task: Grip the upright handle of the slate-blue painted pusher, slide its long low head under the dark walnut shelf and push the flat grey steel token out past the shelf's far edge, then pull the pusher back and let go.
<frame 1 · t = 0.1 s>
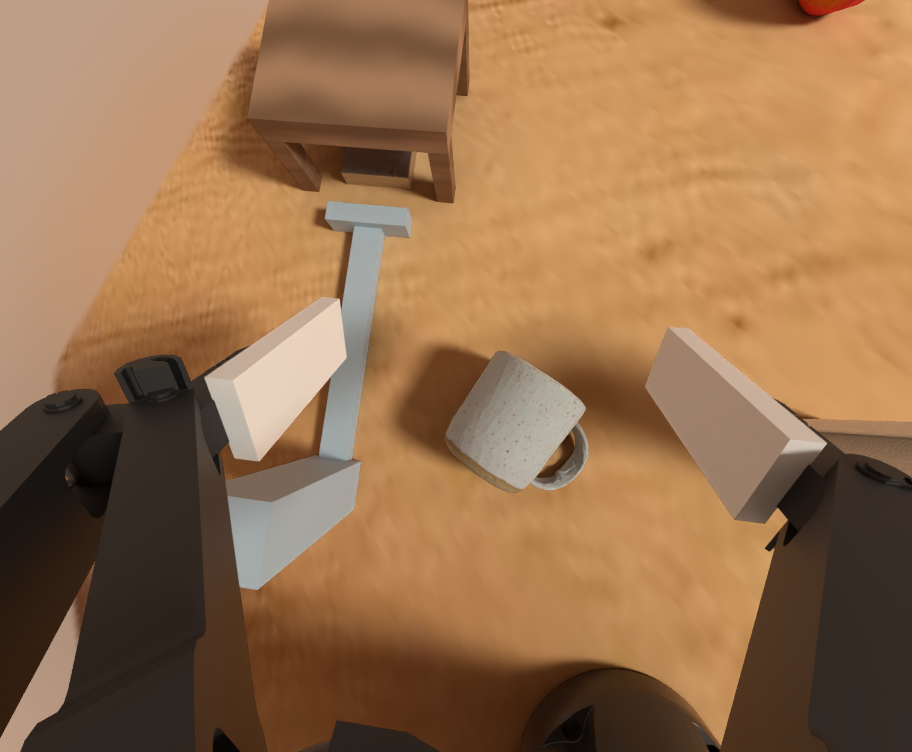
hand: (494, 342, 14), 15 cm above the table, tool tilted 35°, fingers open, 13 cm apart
pusher: (334, 481, 29), on the table
ceramic mug: (521, 426, 29), on the table
apple: (813, 1, 31), on the table
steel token: (384, 159, 32), on the table
paper towel roll: (810, 449, 28), on the table
walnut shelf: (386, 135, 32), on the table
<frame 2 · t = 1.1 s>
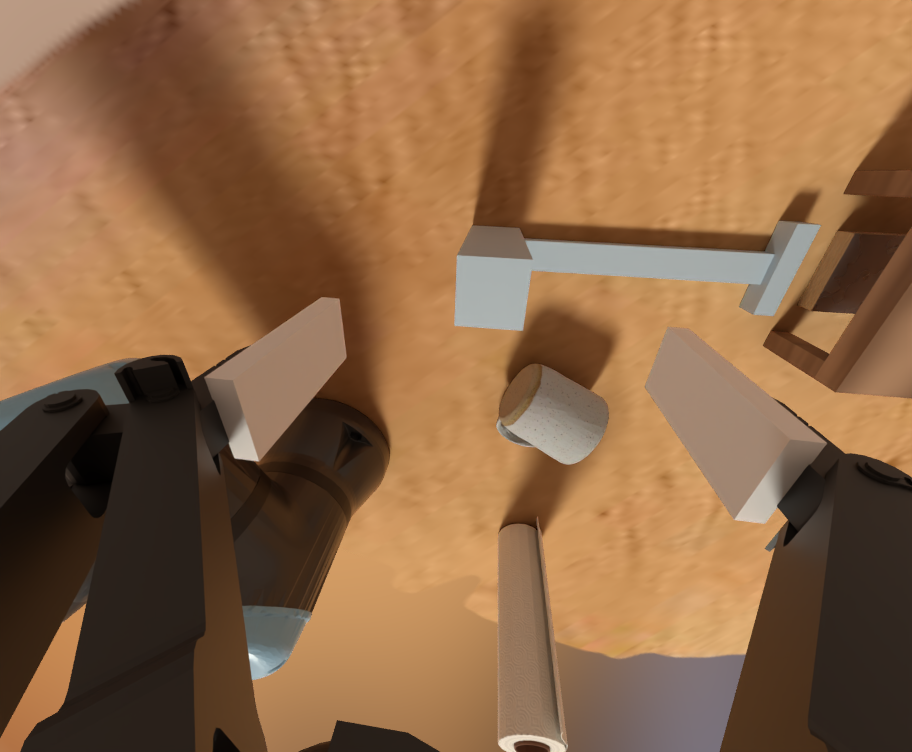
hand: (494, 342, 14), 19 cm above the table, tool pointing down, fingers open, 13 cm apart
pusher: (493, 251, 31), on the table
ceramic mug: (539, 400, 38), on the table
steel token: (850, 270, 29), on the table
paper towel roll: (522, 533, 49), on the table
walnut shelf: (882, 273, 28), on the table
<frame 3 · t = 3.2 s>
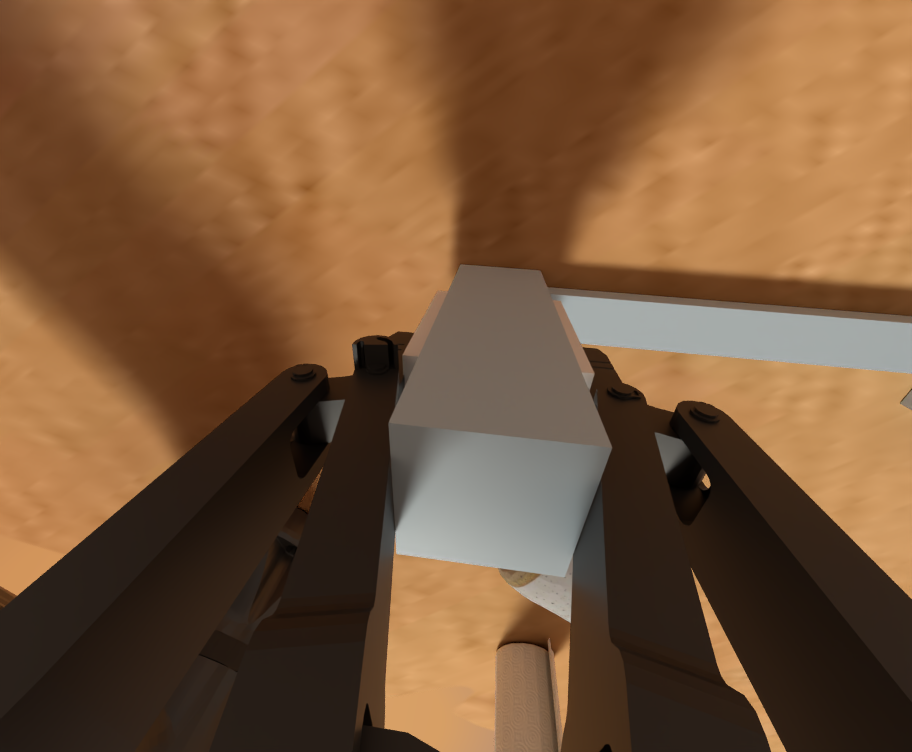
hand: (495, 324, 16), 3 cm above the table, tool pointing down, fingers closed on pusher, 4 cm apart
pusher: (495, 305, 18), on the table, touching gripper
ceramic mug: (554, 512, 26), on the table
paper towel roll: (528, 651, 37), on the table
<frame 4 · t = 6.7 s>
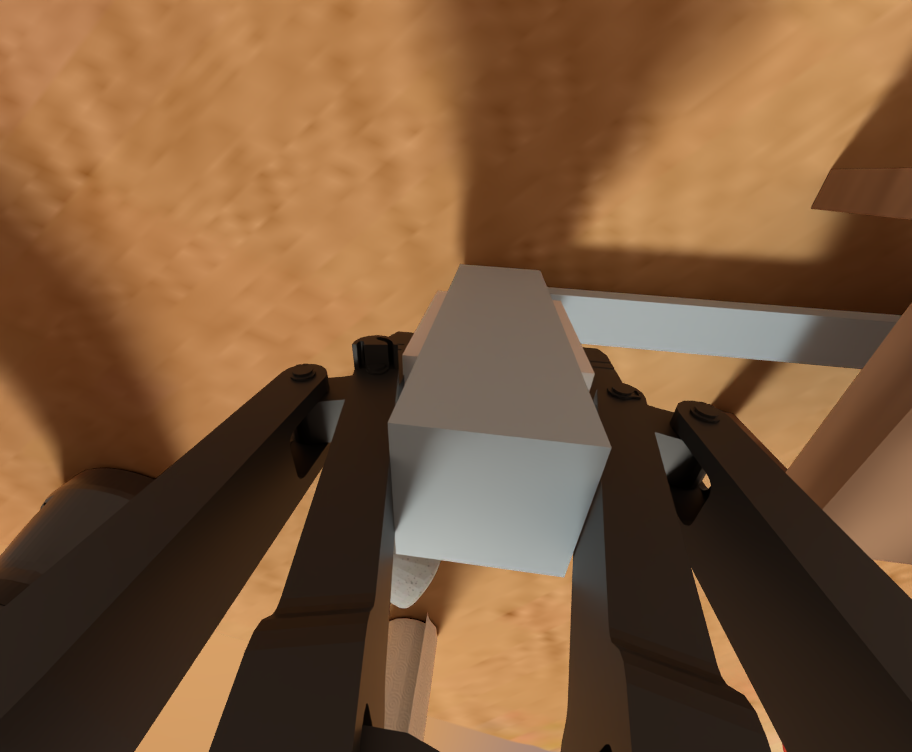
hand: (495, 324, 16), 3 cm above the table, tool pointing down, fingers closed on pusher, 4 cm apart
pusher: (495, 305, 18), point 1 cm above the table, touching gripper, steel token
ceramic mug: (391, 492, 28), on the table
paper towel roll: (416, 627, 39), on the table
walnut shelf: (874, 335, 18), on the table
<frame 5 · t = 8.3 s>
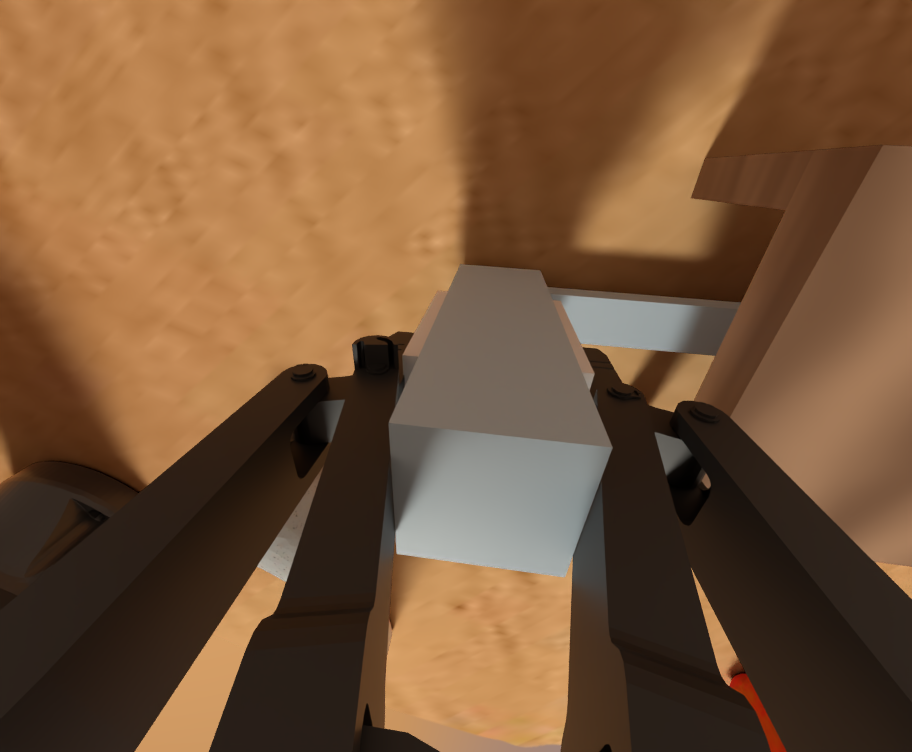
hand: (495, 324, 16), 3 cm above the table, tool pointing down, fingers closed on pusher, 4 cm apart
pusher: (495, 305, 18), point 1 cm above the table, touching gripper, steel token
ceramic mug: (327, 488, 29), on the table
apple: (750, 675, 36), on the table
walnut shelf: (770, 325, 18), on the table
when the fingers open (3 cm above the table, at t = 10.9 s): pusher stays where it is, on the table.
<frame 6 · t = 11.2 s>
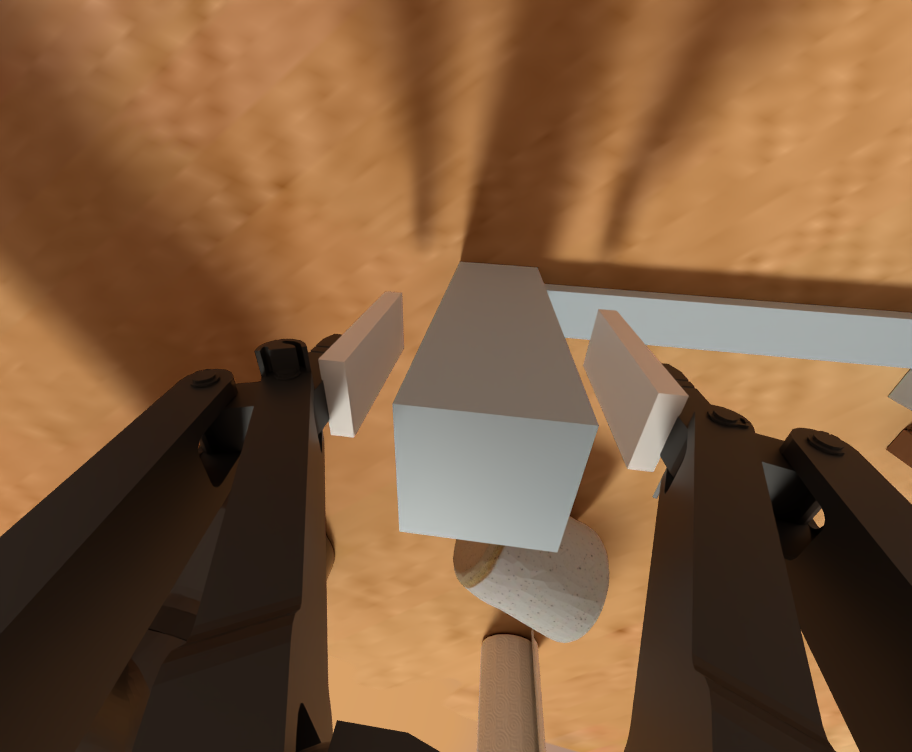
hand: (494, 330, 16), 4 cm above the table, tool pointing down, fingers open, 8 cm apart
pusher: (494, 302, 19), on the table
ceramic mug: (514, 518, 28), on the table
paper towel roll: (513, 642, 38), on the table
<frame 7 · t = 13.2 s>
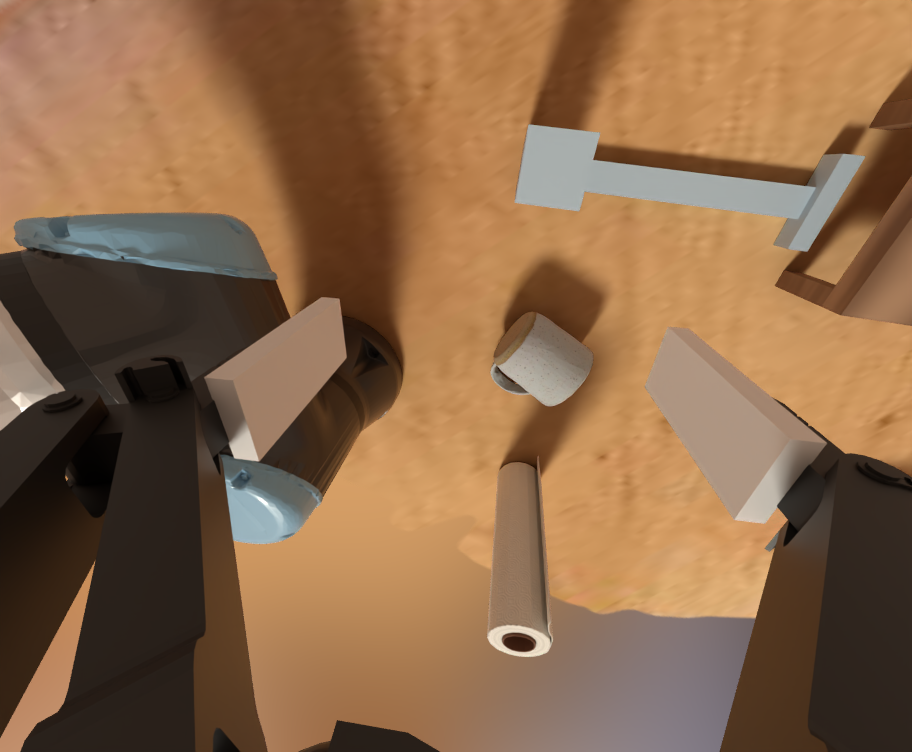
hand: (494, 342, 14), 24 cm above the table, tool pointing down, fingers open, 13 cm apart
pusher: (541, 170, 32), on the table
ceramic mug: (532, 351, 41), on the table
paper towel roll: (522, 473, 51), on the table
walnut shelf: (897, 215, 29), on the table
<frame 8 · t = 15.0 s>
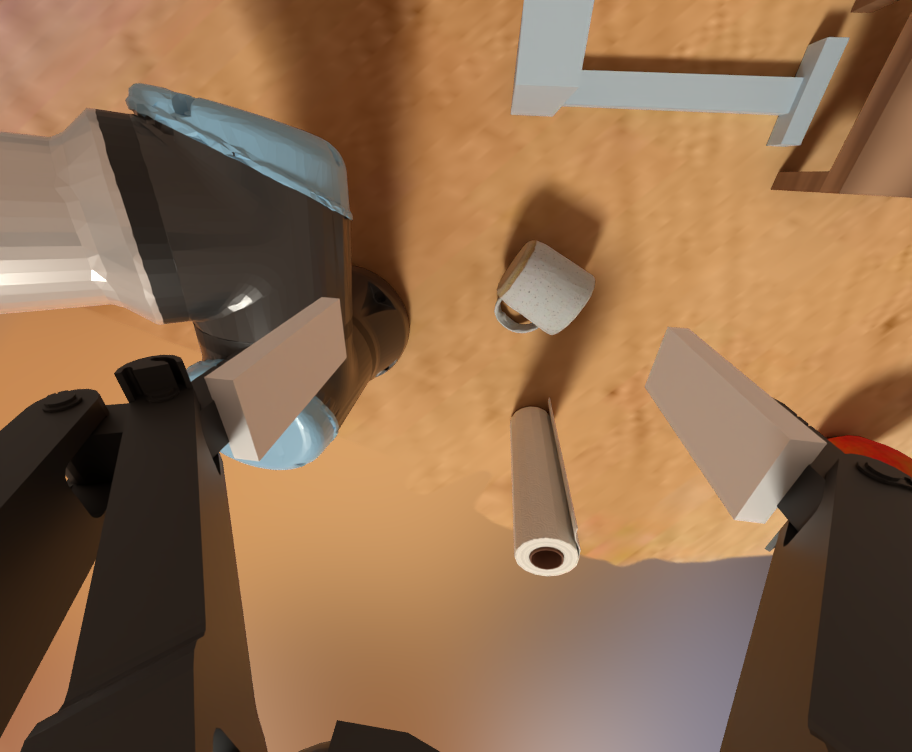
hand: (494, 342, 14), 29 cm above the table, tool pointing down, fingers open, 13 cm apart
pusher: (535, 88, 32), on the table
ceramic mug: (534, 288, 42), on the table
apple: (827, 445, 48), on the table
paper towel roll: (534, 419, 51), on the table
walnut shelf: (885, 102, 30), on the table
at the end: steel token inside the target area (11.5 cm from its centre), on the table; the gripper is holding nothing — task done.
